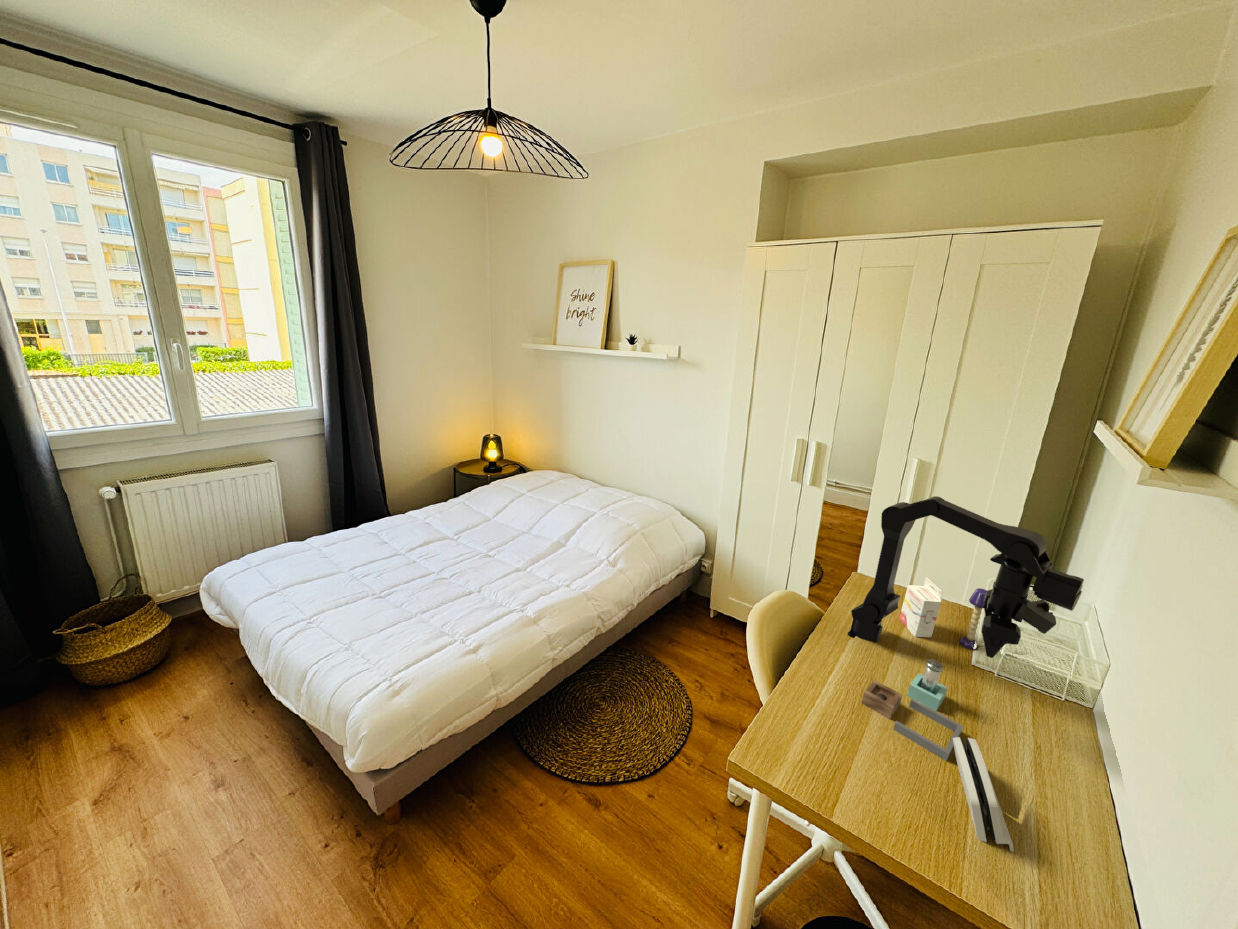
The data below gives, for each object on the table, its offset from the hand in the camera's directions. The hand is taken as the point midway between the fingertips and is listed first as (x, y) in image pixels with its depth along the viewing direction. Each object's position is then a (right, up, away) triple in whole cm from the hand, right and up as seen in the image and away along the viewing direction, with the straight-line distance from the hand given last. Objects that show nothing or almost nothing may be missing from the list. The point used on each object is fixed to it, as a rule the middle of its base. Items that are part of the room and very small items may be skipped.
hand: (990, 646), depth 108 cm
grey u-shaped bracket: (-19, -16, -7) cm, 26 cm away
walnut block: (-26, -14, -1) cm, 29 cm away
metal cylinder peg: (-13, -12, +2) cm, 18 cm away
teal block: (-13, -13, +2) cm, 19 cm away
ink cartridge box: (+1, -6, +29) cm, 30 cm away
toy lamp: (+12, -8, +23) cm, 27 cm away
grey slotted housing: (-20, -20, -21) cm, 35 cm away
